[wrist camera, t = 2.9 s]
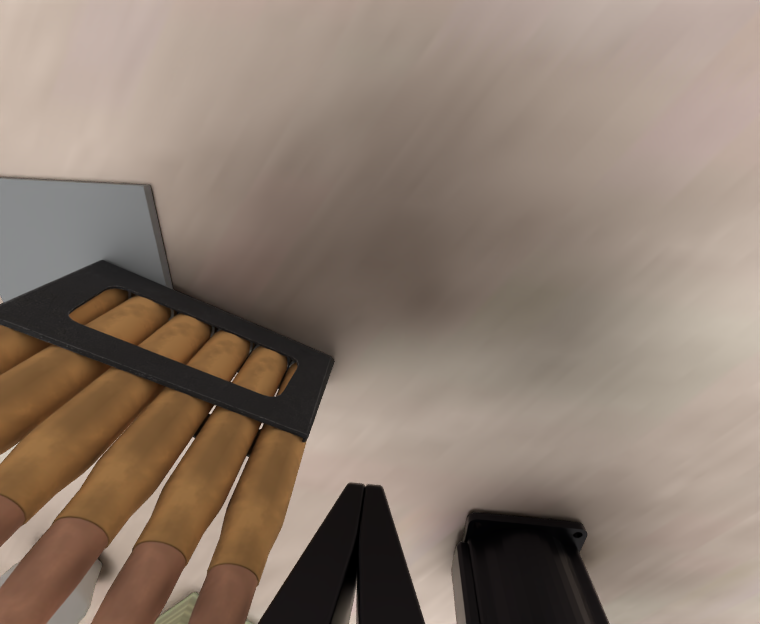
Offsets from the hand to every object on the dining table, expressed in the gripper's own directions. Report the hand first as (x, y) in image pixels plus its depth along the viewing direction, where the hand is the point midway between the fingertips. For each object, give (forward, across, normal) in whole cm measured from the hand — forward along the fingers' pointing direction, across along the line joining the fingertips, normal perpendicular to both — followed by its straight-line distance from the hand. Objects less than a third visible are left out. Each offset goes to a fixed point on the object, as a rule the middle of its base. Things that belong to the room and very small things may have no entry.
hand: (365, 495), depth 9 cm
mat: (+8, +14, 0) cm, 16 cm away
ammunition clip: (+8, +8, 0) cm, 11 cm away
